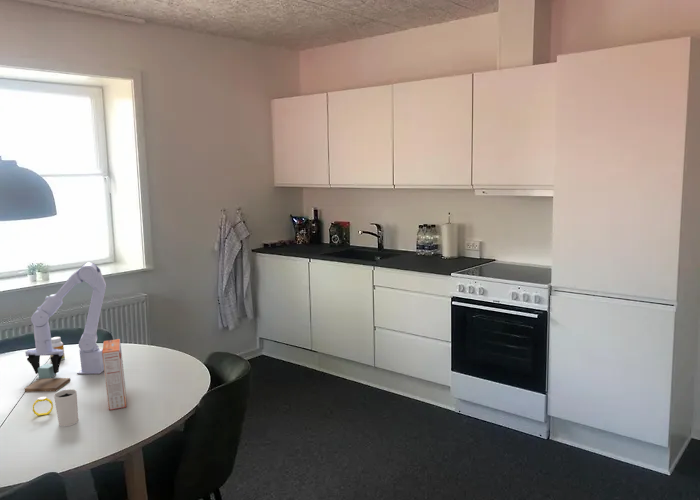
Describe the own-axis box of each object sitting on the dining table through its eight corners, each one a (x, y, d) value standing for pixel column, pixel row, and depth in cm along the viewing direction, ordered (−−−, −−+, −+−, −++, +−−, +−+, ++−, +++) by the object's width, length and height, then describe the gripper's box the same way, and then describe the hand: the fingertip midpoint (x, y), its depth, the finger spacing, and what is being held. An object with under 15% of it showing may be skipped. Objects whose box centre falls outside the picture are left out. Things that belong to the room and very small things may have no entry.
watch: (33, 418, 195) (31, 401, 194) (33, 415, 197) (31, 398, 196) (53, 414, 197) (51, 397, 196) (53, 411, 200) (51, 394, 199)
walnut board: (70, 381, 227) (69, 378, 227) (56, 391, 217) (55, 388, 217) (40, 381, 228) (40, 378, 228) (24, 391, 218) (24, 388, 218)
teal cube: (56, 374, 235) (54, 364, 234) (49, 378, 230) (48, 368, 230) (45, 374, 235) (44, 364, 234) (38, 379, 231) (37, 368, 230)
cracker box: (108, 396, 211) (102, 340, 208) (126, 393, 213) (121, 338, 210) (107, 411, 198) (101, 352, 195) (126, 408, 200) (120, 349, 197)
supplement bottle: (67, 357, 255) (64, 336, 254) (60, 361, 250) (57, 339, 248) (55, 357, 256) (53, 336, 254) (48, 361, 250) (45, 340, 249)
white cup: (54, 422, 191) (50, 393, 189) (75, 416, 195) (72, 387, 194) (61, 429, 186) (57, 399, 184) (83, 422, 190) (79, 392, 189)
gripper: (66, 336, 234) (70, 368, 236) (31, 337, 235) (35, 369, 237) (56, 342, 227) (60, 375, 229) (20, 342, 228) (24, 375, 230)
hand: (47, 372), depth 232 cm, fingers open, 7 cm apart
